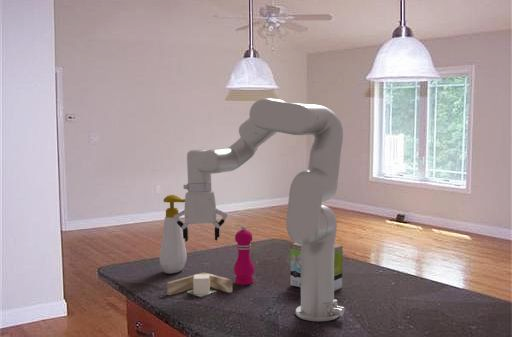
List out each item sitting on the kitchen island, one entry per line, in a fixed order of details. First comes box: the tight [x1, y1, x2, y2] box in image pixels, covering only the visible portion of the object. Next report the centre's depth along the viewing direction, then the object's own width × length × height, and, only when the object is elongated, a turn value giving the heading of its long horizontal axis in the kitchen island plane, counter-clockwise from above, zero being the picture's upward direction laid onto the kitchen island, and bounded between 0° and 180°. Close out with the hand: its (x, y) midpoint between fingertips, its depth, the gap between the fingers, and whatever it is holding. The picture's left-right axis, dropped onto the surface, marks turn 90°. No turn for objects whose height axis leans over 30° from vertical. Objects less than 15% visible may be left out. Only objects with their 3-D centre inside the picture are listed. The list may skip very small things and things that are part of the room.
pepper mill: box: [233, 225, 255, 286], centre depth 187 cm, size 7×7×20 cm
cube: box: [192, 273, 211, 295], centre depth 177 cm, size 5×5×5 cm
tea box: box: [289, 242, 343, 292], centre depth 181 cm, size 15×10×15 cm, turn 47°
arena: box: [166, 272, 233, 298], centre depth 176 cm, size 14×16×4 cm
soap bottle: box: [159, 194, 188, 275], centre depth 201 cm, size 13×10×29 cm
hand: (201, 240), depth 176 cm, fingers open, 9 cm apart
